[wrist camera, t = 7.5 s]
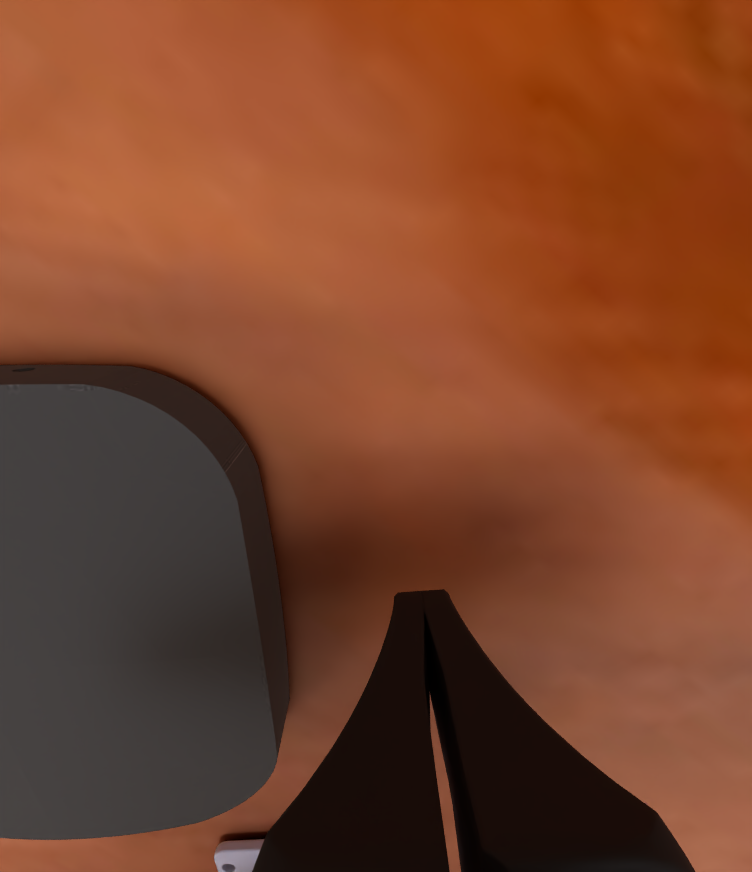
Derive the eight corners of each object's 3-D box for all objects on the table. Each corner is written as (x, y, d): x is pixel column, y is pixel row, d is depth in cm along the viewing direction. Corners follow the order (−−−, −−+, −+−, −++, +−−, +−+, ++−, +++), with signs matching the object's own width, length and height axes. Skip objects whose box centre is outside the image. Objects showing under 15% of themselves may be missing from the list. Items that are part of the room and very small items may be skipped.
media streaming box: (304, 750, 17) (289, 846, 14) (-87, 759, 17) (-178, 855, 14) (253, 353, 12) (214, 378, 9) (-294, 373, 12) (-496, 404, 9)
